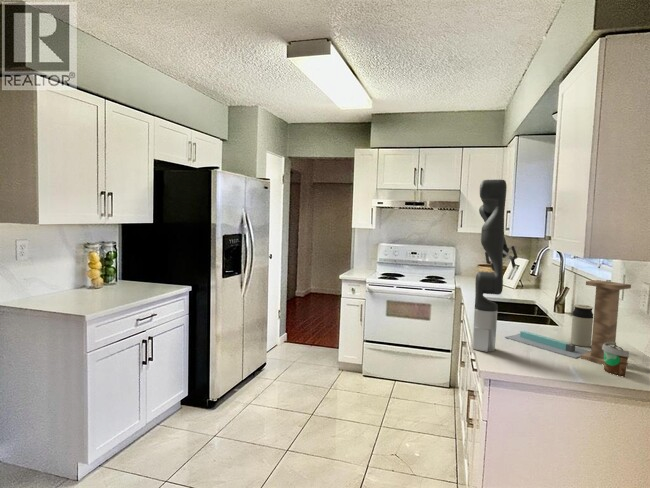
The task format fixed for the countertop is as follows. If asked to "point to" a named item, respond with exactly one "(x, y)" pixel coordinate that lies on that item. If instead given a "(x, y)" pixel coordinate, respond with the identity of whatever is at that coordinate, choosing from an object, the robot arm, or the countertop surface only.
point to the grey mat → (549, 347)
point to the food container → (615, 359)
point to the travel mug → (582, 325)
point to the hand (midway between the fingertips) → (504, 269)
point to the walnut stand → (604, 317)
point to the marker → (548, 341)
